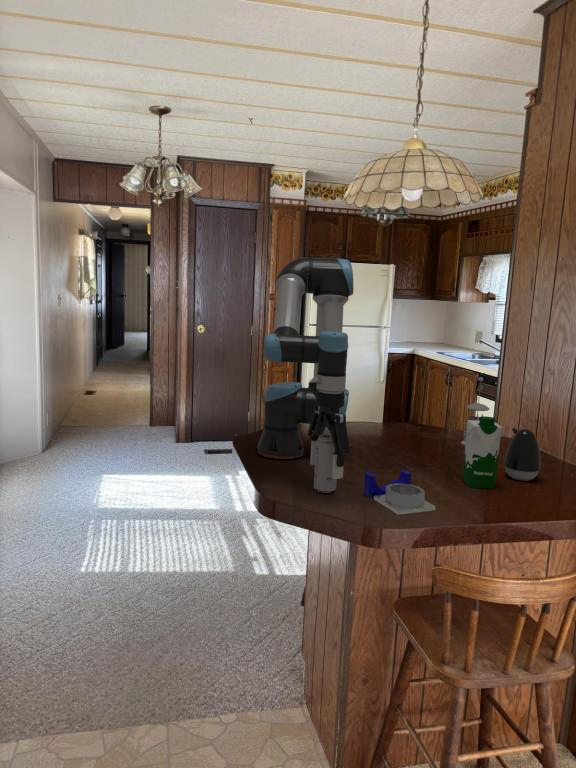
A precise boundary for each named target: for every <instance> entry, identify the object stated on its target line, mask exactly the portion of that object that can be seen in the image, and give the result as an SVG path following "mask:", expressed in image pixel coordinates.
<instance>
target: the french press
mask: <svg viewBox="0 0 576 768" xmlns="http://www.w3.org/2000/svg"><path fill="white" fill-rule="evenodd" d="M477 380H478V381H480V382H479V388H481V385H482V381H484V378H483V377H478V379H477ZM480 394H481V389H479V390H478V398H481V397H480V396H481V395H480ZM466 409H468V410H471V411H477V413H476V416H475V415H474V416H473V415H471V416H466V419H467V420H475V421H480V417H481V416H484V413H481V416H479V412H488V411H489V410H490V407H489V406H488V405H485V404H483V403H480V399H478V402H476V403H474V402H473V403H470V404H468V405H466ZM467 420H466V421H465V424H464V425H465V426H464V435H463V440H461V442H460V444H462V445H464V446H465V444H466V433H467Z"/></svg>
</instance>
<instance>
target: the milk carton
mask: <svg viewBox="0 0 576 768" xmlns="http://www.w3.org/2000/svg"><path fill="white" fill-rule="evenodd" d="M479 417H480V421H475V420H468V419H467V420H466V421H467V426H466V427H467V430H466V431H467V433H465V434H466V436H465V437H466V444H465V445H464V455H463V465H462V466H463V467H462V468H463V469H462V470H463V471H462V472H463V473H462V480H463V481H464V483H465V484H466V485H467V486H468V487H469V488H472V489H473V488H477V489H493V490H494V489H495V488H496V487H495V485H496V480H497V479H496V478H497V475H498V473H497V472H498V465H499V454H500V445H501V437H502V430H503V426H501V425H500V424H499V423H497V422H496V418H495V417H493V416H492V417H491V416H484V415H483V416H482V415H480V416H479Z"/></svg>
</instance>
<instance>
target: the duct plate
mask: <svg viewBox="0 0 576 768" xmlns="http://www.w3.org/2000/svg"><path fill="white" fill-rule="evenodd" d="M425 494H426V492H425V489H423V488H421V487H420V486H418V485H414V484H411V483H410V484H402V483H396V484H390V485H388V486H386V493H385V495H377V496H374V497H373V500H374V501H376V502H377V503H379V504H380V505H382V506H383V507H385V508H387V509H388V510H390V511H391V512H392V513H394V514H396V515H397V516H400V515H408V514H417V513H424V512H431V511H436V505H434V504H432V503H430V502H429V501H427V500H425V498H426V497H425V496H426V495H425Z"/></svg>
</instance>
